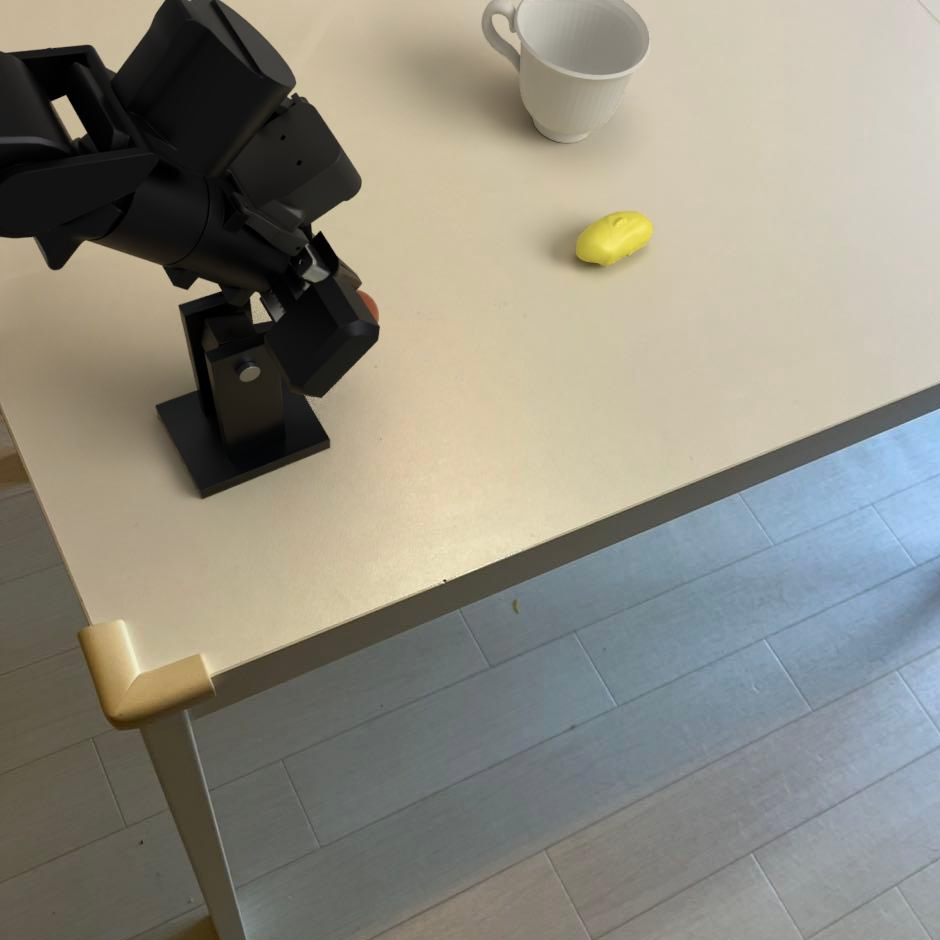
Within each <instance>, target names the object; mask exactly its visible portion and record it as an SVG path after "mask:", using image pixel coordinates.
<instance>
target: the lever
mask: <svg viewBox="0 0 940 940" xmlns="http://www.w3.org/2000/svg"><path fill="white" fill-rule="evenodd" d="M356 292H357V293H359V294H360V296H361V298H362V299H363V301H364V302H365V304H366V305H367V307H368V309H369V310H370V312H371V313H372V315H373V316H374V318H375V320H376V321H377V323H378V324H379V323H380V321H379V320H380V311H379V308H378V304H377V303H376V301H375V300H374V298H373V297H372V296H371V295H370V294H368V293H367V292H365V291H363V290H361V289H357V290H356ZM273 325H274V323H273V322H272V320H267V321H262V322H257V323H254V322H253V323H252V322H251V320H250V318H249V317H248V315H247V313H246V312H239V313H234V314H229V315H223V316H218V317H212V318H207V319H204V327H203V334H202V342H201V344H202V346H203V348H204V350H205V352H206V351H209V350H212V349H215V348H218V347H221V346H223V345H226V344H229V343H232V342H235V341H238V340H241V339H243V338H246V337H249V336H252V335H255V334H258V333H261V332H264V331H266V330H269V329H271V327H272V326H273Z"/></svg>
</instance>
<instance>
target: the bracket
mask: <svg viewBox="0 0 940 940" xmlns="http://www.w3.org/2000/svg"><path fill="white" fill-rule="evenodd" d="M251 301H252V300H251V297H250V298H249V299H248V300H247V302H246V303H245V304H244V305H243V306H242V307H239V306H236V305H233V304H230V303H228V301H227V299H226V297H225V296H224V294H223V292H222V290H220V291H217V292H214V293H211V294H208V295H204V296H202V297H199V298H195V299H193V300H192V299H191V300H190V301H187V302H183V303H180V304H178V311H179V315H180V320H181V324H182V329H183V333H184V334H183V335H184V338H185V342H186V343H185V344H186V347H187V352H188V357H189V361H190V365H191V369H192V374H193V380H194V383H195V387H196V390H193V391H191V392H188V393H184V394H182V395H180V396H176V397H173V398H171V399H168V400H166V401H163V402H160V403H157V404H155V406H154V407H155V410H156V413H157V416H158V418H159V420H160V421H161V424H162V425H163V428H164V429H165V431H166V433H167V435H168V437H169V439H170V441H171V443H172V445H173V446H174V449H175V451H176V452H177V455H178V457H179V458H180V460H181V462H182V463H183V465H184V468H185V470H186V471H187V473H188V476H189V477H190V479H191V481H192V482H193V484H194V487H195V488H196V490H197V492H198V494H199V496H200V498H201V499H202V500H205V499H207V498H209V497H211V496H214V495H216V494H219V493H222V492H224V491H227V490H229V489H231V488H234V487H237V486H240V485H242V484H244V483H246V482H250V481H252V480H254V479H256V478H259V477H262V476H265V475H267V474H270V473H272V472H273V471H276V470H278V469H282V468H284V467H286V466H289V465H291V464H294V463H297V462H299V461H301V460H304V459H307V458H309V457H312V456H313V455H316V454H318V453H321V452H325V451H326V450H329V449H330V448H331V438H330V437H329V434H328V433H327V431H326V429H325V428H324V426H323V424H322V423H321V421H320V419H319V418H318V417H317V415H316V412H315V411H314V409H313V408H312V405H311V404H310V403H309V401H308V399H307V398H306V397H307V396H305V395H301V394H296V393H292V392H290V390H289V389H288V387H287V385H286V384H285V382H284V380H283V378H282V377H281V375H280V373H279V372H278V370H277V368H276V366H275V365H274V363H273V361H272V360H271V358H270V356H269V355H268V353H267V351H266V349H265V341H264V335H265V334H266V333H267V332H268V331H269V330H270V329H269V330H266V331H264V332H261V333H258V334H255V335H252V336H249V337H246V338H243V339H241V340H238V341H235V342H232V343H229V344H226V345H223V346H221V347H218V348H215V349H212V350H209V351H206V352H205V350H204V348H203V346H202V344H201V342H202V334H203V327H204V319H207V318H212V317H218V316H223V315H229V314H234V313H239V312H246V313H247V315H248V317H249V318H250V320H251V322H252V323H253V324H254V318H253V310H252V309H253V308H252V304H251V303H252V302H251Z"/></svg>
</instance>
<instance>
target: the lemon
mask: <svg viewBox="0 0 940 940" xmlns="http://www.w3.org/2000/svg"><path fill="white" fill-rule="evenodd" d="M653 232H654V226H653V222H652V221H651V219H649V217H647V216H646V215H645V214H644V213H642V212H638V211H635V210H620V211H614V212H611V213H609V214H606V215H604V216H602V217H600V218H598V220H596V221H594V222H592V223H591V224H590V225H588V226H586V228H585V229H584V230H583V231H582V233H580V235H579V236H578V238H577V241H576V243H575V254H576V256H577V258H579V259H580V260H581V261H583V262H587V263H596V264H599V265H601V266H604V267H609V266H611V265H614V264H615V263H617V262H618V261H620V260H621V259H624V258H625V257H630V256H631V255H632V254H633V253H634V252H636V251H639V250H641V249H642V248H644V247H645V246H646V245H647V244H648V243H649V242H650V240H651V238H652V236H653Z"/></svg>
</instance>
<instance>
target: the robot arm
mask: <svg viewBox="0 0 940 940" xmlns="http://www.w3.org/2000/svg"><path fill="white" fill-rule="evenodd" d="M296 85H297V79H296V77H295V75H294V73H293V70H292V69H291V67H290V66H289V64H288V63H287V61H286V60H285V59H284V57H282V55H281V53H280V52H279V51H278V50H277V49H276V48H275V47H274V46H273V45H272V43H271V42H270V41H269V40H268V39H267V38H266V37H265V36H264V35H263V34H262V33H261V32H260V31H259V30H258V29H256V28H255V27H254V26H253V24H251V23H250V22H249V21H248V20H247V19H246V18H244V17H243V16H242V15H241V14H240V13H239V12H237V11H236V10H235V9H233V8H232V7H231V6H229V5H228V4H227V3H225V2H224V1H222V0H163V2H162V3H161V5H160V6H159V8H158V9H157V11H156V12H155V14H154V16H153V18H152V21H151V23H150V25H149V28H148V29H147V30H146V32H145V33H144V35H143V36H142V38H141V39H140V41H139V42H138V43H137V45H136V46H135V48H134V49H133V50H132V51H131V53H130V54H129V55H128V57H127V59H125V61H124V62H123V64H122V65H121V67H120V68H119V69H118V70H117V72H115V71H113V70H111V69H110V68H108V67H106V65H105V63H104V62H103V60H102V58H101V56H100V55H99V53H98V51H97V50H96V47H94V46H93V45H91V44H78V45H69V46H58V47H47V48H39V49H29V50H17V51H9V52H7V51H6V52H5V51H1V50H0V238H5V239H28V238H33V240H34V242H35V244H36V247H37V248H38V250H39V252H40V254H41V255H42V257H43V259H44V261H45V264H46V266H47V267H48V268H49V269H50V270H52V271H59V270H62V269H63V268H64V267H65V266H66V264H67V263H68V261H69V260H70V259H71V258H72V256H73V255H74V254H75V253H76V252H77V250H78V248H79V247H80V246H81V245H82V244H83V243H84V242H89V243H92V244H96V245H99V246H102V247H105V248H107V249H111V250H113V251H117V252H120V253H122V254H126V255H128V256H131V257H134V258H137V259H141V260H144V261H147V262H150V263H152V264H156V265H158V266H162V268H163V270H164V271H165V274H166V276H167V277H168V279H169V281H170V283H171V284H172V286H173V287H176V288H179V289H182V290H185V291H189V290H190V288H191V287H192V286H193V285H194V284H195V282H196V281H197V280H198V279H202V280H204V281H207V282H210V283H213V284H217V285H218V287H219V289H220V291H222V292H223V294H224V296H225V297H226V299H227V301H228V303H230V304H233V305H236V306H239V307H242V306H243V305H244V304H245V303H246V302H247V300H248V299H249V298H250V299H251V297H252V296H253V295H254V294H255V293H258V294H259V296H260V297H259V298H258V299H259V301H260V304H261V305H262V307H263V308H264V310H265V311H266V314H267V316H269V318H270V321H272V322H273V323H274V325H273V326H272V327H271V329H270V330H269V331H268V332H267V333H266V334H265V335H264V341H265V349H266V351H267V353H268V355H269V356H270V358H271V360H272V361H273V363H274V365H275V366H276V368H277V370H278V372H279V373H280V375H281V377H282V378H283V380H284V382H285V384H286V385H287V387H288V389H289V390H290V392H292V393H296V394H301V395H304V396H305V397H309V398H310V397H311V398H316V399H317V398H318V399H322V398H324V397H325V396H326V394H328V393H329V392H330V391H331V390H332V389H333V387H334V386H335V385H337V383H338V382H339V381H340V380H341V379H343V377H344V376H345V375H346V374H347V373H348V372H349V371H350V370H351V369H352V368H353V367H354V366H355V365H356V364H357V363H358V362H359V361H360V360H361V359H362V358H363V357H364V356H365V355H366V354H367V353H368V352H369V351H370V349H371V348H373V347H374V345H375V344H377V343H378V341H379V337H380V330H381V326H380V324H379V322H378V323H377V321H376V320H375V318H374V316H373V315H372V313H371V312H370V310H369V309H368V307H367V305H366V304H365V302H364V301H363V299H362V298H361V296H360V294H359V293H357V292H356V290H359V289H360V287H361V286H362V285H363V281H362V280H361V278H360V276H359V274H357V272H355V270H353V269H352V268H351V267H350V266H349V265H348V264H347V263H346V262H344V260H342V259H341V258H340V257H339V256H338V255H337V254H336V252H335V250H334V249H333V247H332V246H331V243H330V242H329V241H328V239H327V238H326V236H325V235H324V233H323V232H322V230H319V231H318V232H317V233H316V234H314V233H313V228H312V227H313V225H312V224H313V223H314V222H315V221H316V220H318V219H320V218H321V217H323V216H324V215H326V214H327V213H329V212H330V211H331V210H333V209H334V208H336V207H338V206H339V205H340V204H341V203H343V202H349V201H350V200H352V199H353V198H354V197H356V196H357V195H358V193H359V192H360V191H361V188H362V184H363V181H362V176H361V175H360V173H359V171H358V170H357V167H355V166H354V164H353V162H352V160H351V159H350V158H349V156H348V155H347V153H346V151H345V150H344V148H343V147H342V145H341V144H340V142H339V140H338V139H337V138H336V136H335V135H334V133H333V132H332V130H331V128H330V127H329V125H328V124H327V122H326V121H325V120H324V118H323V116H322V115H321V113H320V112H319V111H318V109H317V108H316V107H315V106H314V104H311V103H310V102H309V100H308V98H306V97H305V96H300V95H299V94H298V92H293V94H291V92H292V91H293V90H294V89H295V87H296ZM290 94H291V95H290ZM289 95H290V97H289ZM65 96H66V98H67V100H68V102H69V103H70V105H71V107H72V109H73V110H74V112H75V114H76V116H77V118H78V120H79V121H80V123H81V125H82V127H83V129H84V130H85V132H86V133H85V134H84V135H83V136H81V137H79V136H78V137H76V138H74V139H73V138H72V136H71V135H70V134H71V133H69V131H68V129H67V127H66V125H65V123H64V122H63V120H62V118H61V115H60V114H59V113H58V111H57V109H56V107H55V106H54V105H55V104H53V101H56V100H58V99H60V98H63V97H65Z"/></svg>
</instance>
